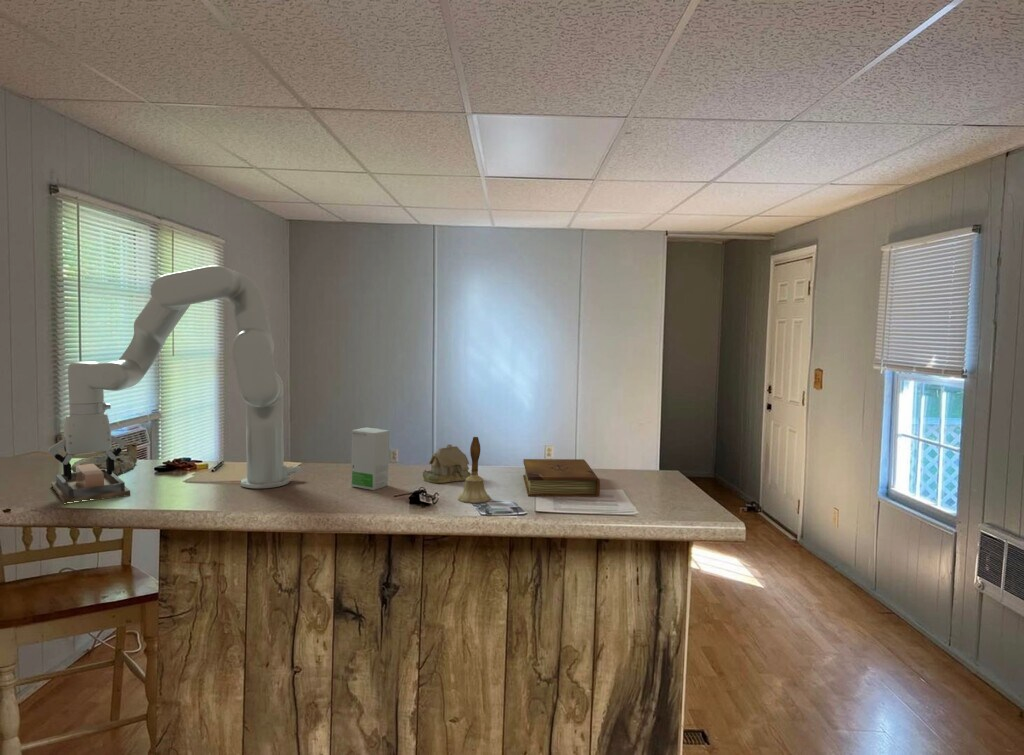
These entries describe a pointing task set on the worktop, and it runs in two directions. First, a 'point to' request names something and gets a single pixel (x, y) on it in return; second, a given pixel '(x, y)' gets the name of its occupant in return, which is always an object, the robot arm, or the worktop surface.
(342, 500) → the worktop surface
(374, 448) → the skincare box
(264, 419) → the robot arm
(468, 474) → the ceramic model
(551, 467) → the diary
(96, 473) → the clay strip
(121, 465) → the clay tablet
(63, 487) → the gray rectangular frame
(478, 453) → the hand bell
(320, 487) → the worktop surface
